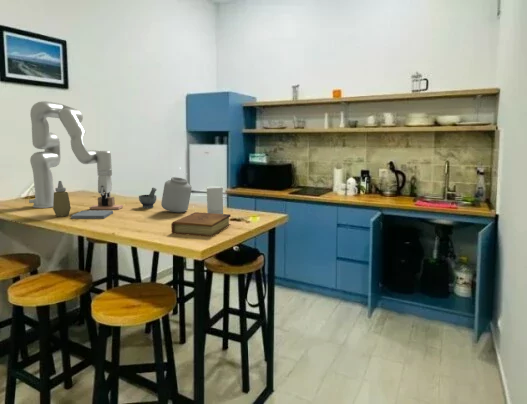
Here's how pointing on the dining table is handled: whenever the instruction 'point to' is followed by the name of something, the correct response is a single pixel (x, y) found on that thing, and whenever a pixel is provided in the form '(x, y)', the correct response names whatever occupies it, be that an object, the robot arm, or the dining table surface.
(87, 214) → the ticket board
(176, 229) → the diary
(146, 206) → the mortar and pestle
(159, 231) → the dining table surface
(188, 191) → the jar
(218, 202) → the skincare box
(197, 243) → the dining table surface
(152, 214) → the dining table surface
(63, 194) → the squeeze bottle
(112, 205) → the stub
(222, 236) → the dining table surface
